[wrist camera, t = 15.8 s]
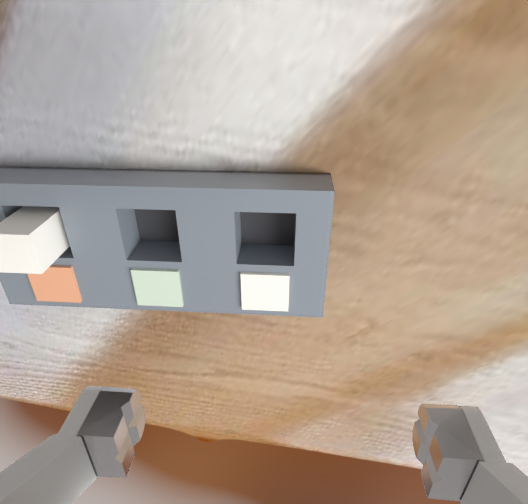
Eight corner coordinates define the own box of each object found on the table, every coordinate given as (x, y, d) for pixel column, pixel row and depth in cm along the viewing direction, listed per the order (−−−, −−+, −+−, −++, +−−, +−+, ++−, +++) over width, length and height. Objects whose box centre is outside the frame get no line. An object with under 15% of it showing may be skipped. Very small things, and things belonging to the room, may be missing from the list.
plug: (36, 197, 41) (-17, 233, 34) (73, 198, 40) (28, 235, 34) (47, 231, 43) (-1, 272, 36) (83, 232, 43) (42, 273, 36)
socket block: (-9, 166, 40) (-44, 183, 36) (330, 173, 38) (334, 192, 34) (33, 280, 47) (7, 306, 43) (320, 291, 45) (322, 319, 41)
